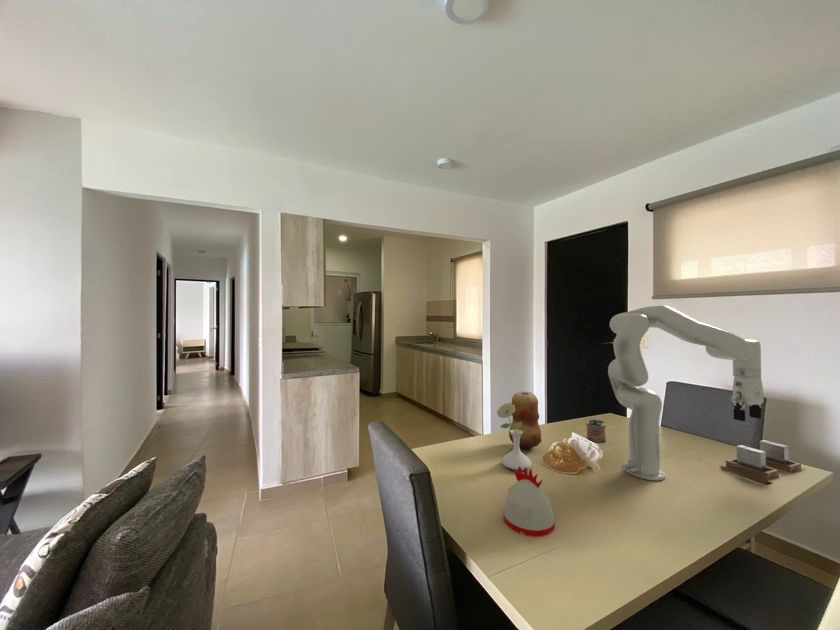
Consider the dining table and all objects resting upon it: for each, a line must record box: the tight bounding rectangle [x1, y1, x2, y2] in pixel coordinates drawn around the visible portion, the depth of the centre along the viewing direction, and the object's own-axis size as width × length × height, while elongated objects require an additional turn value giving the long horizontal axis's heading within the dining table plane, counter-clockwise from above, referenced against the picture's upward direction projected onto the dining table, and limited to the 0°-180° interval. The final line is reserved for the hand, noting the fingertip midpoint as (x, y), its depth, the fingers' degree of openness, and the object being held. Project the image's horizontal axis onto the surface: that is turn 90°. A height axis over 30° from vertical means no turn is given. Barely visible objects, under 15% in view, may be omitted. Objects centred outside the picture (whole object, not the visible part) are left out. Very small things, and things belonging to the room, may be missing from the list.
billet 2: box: [759, 439, 790, 465], centre depth 128 cm, size 3×7×8 cm, turn 20°
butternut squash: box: [508, 391, 542, 450], centre depth 149 cm, size 14×13×25 cm
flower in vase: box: [496, 402, 533, 471], centre depth 130 cm, size 13×11×25 cm
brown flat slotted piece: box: [720, 457, 806, 486], centre depth 125 cm, size 26×13×4 cm, turn 110°
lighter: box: [586, 418, 607, 443], centre depth 159 cm, size 8×3×10 cm, turn 62°
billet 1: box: [736, 444, 766, 472], centre depth 123 cm, size 3×7×8 cm, turn 20°
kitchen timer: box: [502, 466, 556, 538], centre depth 95 cm, size 14×14×15 cm
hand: (747, 418), depth 124 cm, fingers open, 9 cm apart
